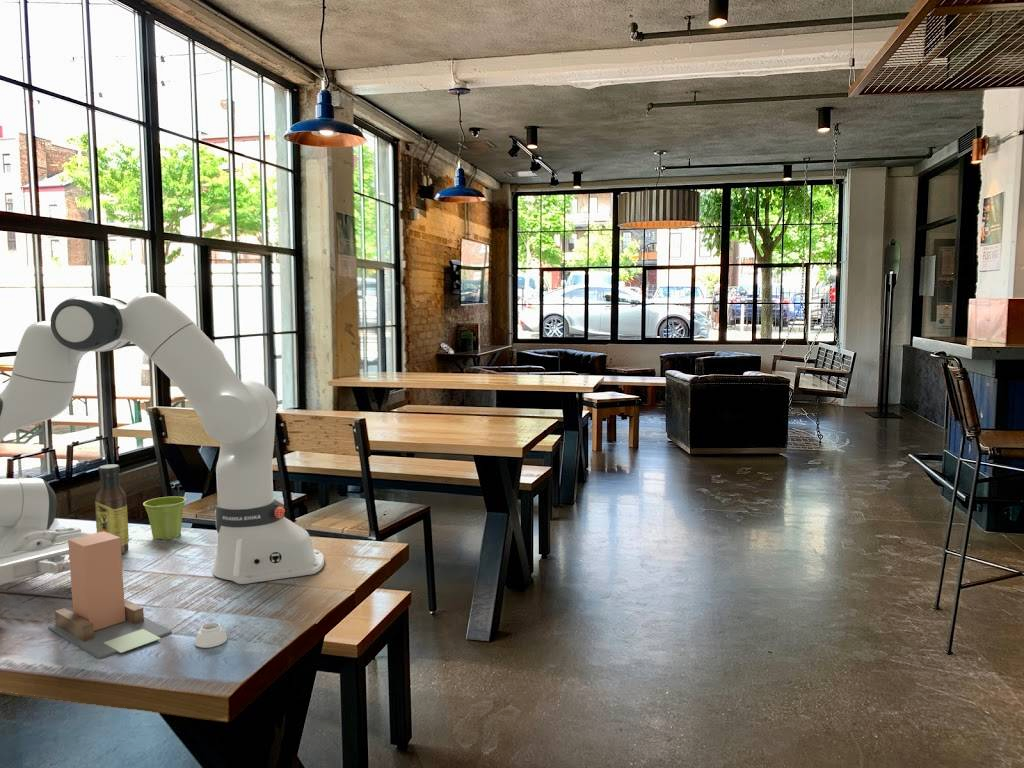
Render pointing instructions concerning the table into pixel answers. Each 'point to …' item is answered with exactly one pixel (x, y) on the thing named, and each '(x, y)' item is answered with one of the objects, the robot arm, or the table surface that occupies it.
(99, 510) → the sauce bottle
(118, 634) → the chute mat
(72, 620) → the chute rails
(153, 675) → the table surface
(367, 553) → the table surface
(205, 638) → the white jar
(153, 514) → the plant pot
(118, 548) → the block
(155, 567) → the table surface
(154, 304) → the robot arm
